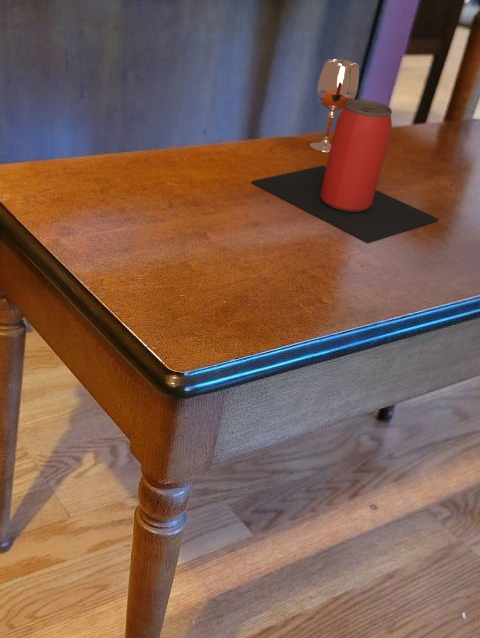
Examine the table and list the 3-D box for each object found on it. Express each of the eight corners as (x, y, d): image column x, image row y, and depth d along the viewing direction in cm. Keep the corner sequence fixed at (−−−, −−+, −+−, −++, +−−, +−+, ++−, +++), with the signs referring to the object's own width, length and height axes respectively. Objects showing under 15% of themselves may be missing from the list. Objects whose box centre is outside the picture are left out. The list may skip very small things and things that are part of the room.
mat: (438, 221, 94) (439, 218, 94) (367, 243, 86) (368, 240, 86) (322, 167, 105) (322, 165, 105) (251, 183, 98) (251, 180, 98)
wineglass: (318, 155, 110) (337, 68, 102) (298, 141, 114) (314, 57, 106) (350, 153, 112) (370, 68, 104) (329, 140, 116) (347, 57, 108)
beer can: (323, 211, 92) (346, 111, 84) (315, 191, 97) (336, 95, 90) (375, 216, 92) (402, 117, 85) (364, 196, 97) (389, 101, 90)
